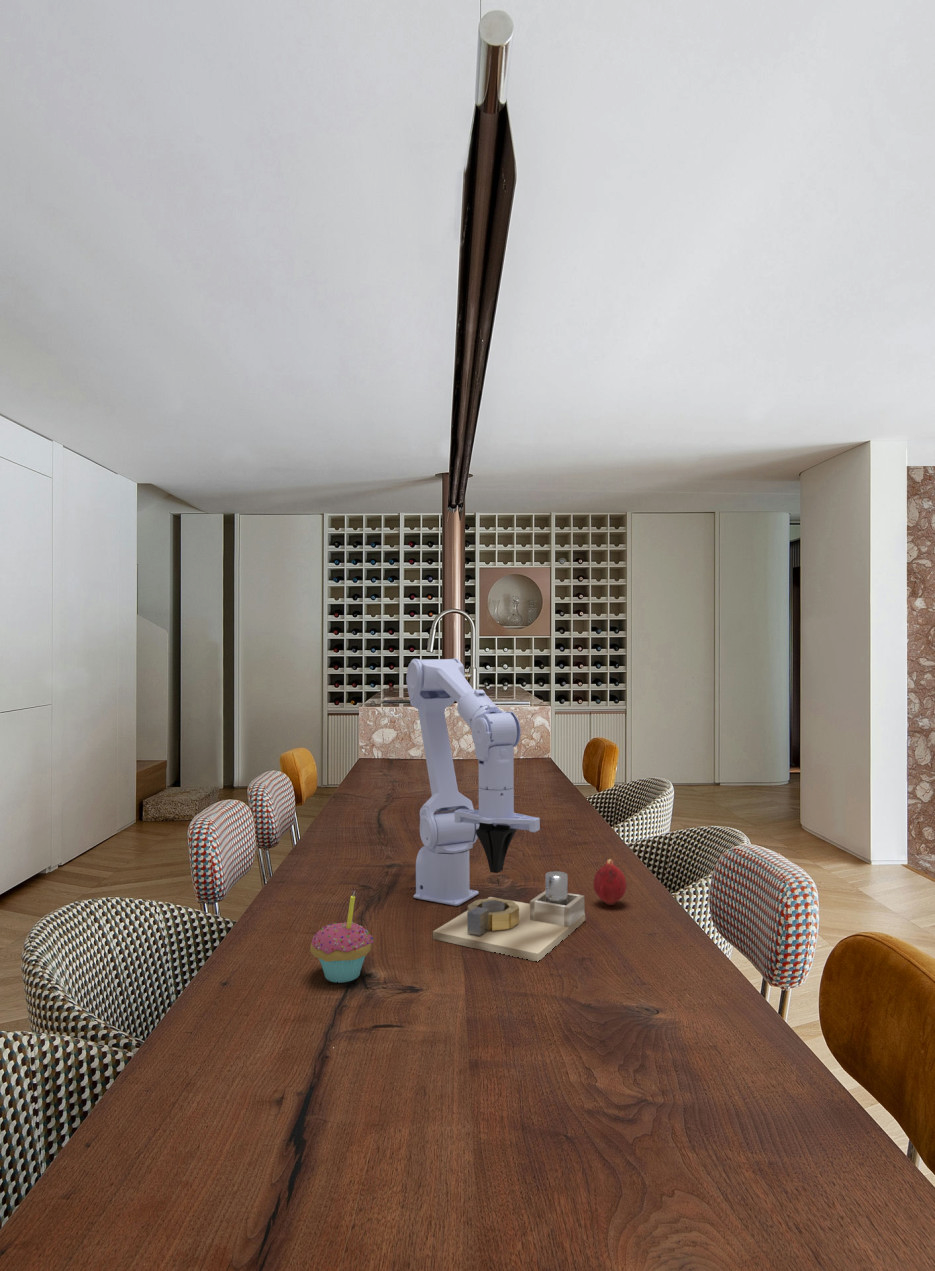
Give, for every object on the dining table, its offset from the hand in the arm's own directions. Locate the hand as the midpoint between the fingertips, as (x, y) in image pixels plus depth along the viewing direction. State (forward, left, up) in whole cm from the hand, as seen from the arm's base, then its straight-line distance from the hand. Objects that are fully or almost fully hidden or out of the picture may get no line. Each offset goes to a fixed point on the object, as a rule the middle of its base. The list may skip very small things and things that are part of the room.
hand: (496, 871), depth 124 cm
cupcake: (-11, -26, -10) cm, 30 cm away
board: (+2, +1, -9) cm, 10 cm away
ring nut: (0, -2, -8) cm, 8 cm away
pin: (+8, +6, -8) cm, 13 cm away
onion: (+12, +20, -10) cm, 25 cm away
